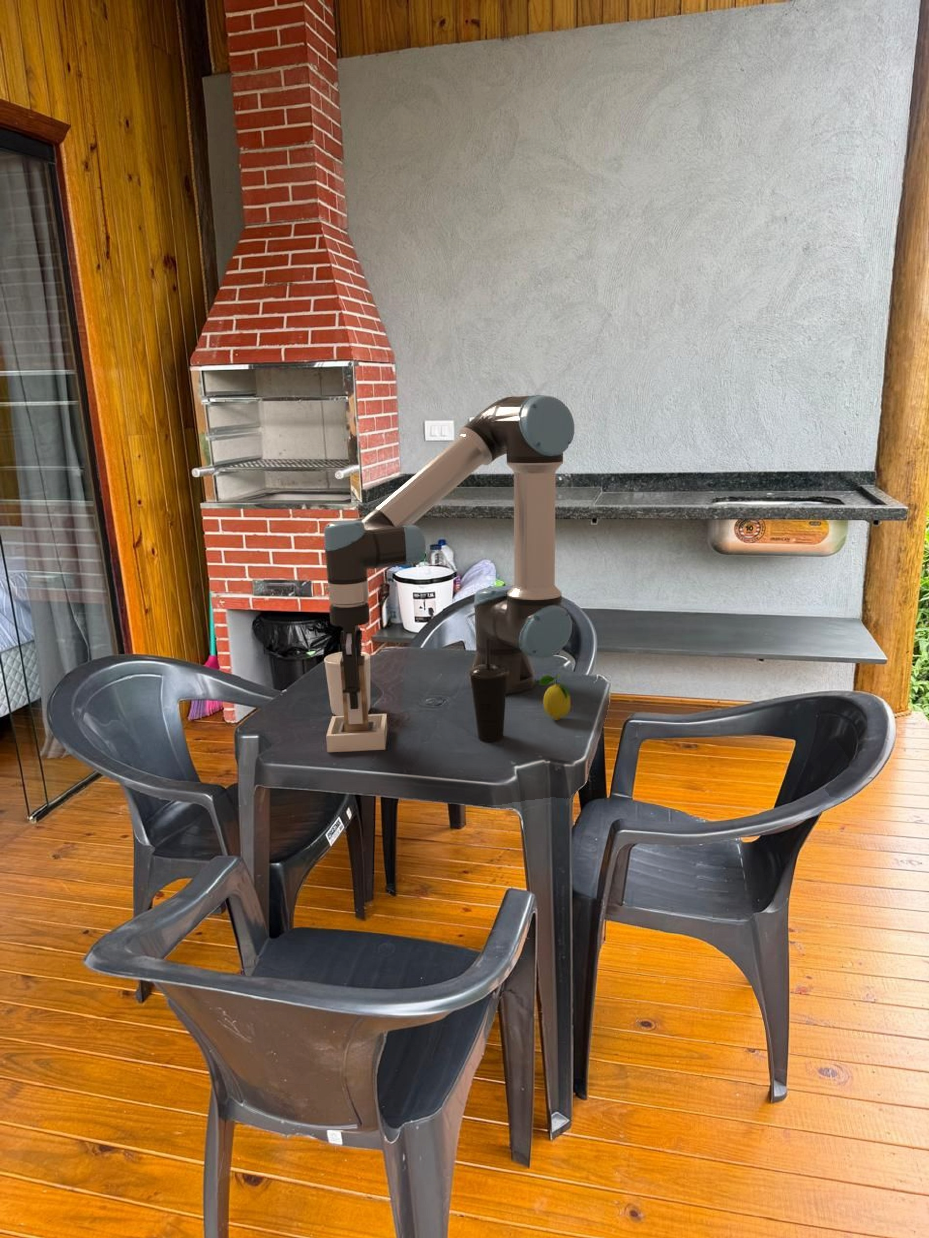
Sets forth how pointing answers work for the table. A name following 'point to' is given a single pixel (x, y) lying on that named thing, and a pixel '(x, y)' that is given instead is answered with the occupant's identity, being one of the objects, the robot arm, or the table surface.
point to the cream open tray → (357, 735)
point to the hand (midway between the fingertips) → (356, 719)
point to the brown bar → (363, 696)
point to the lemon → (555, 698)
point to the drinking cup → (489, 698)
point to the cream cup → (336, 685)
